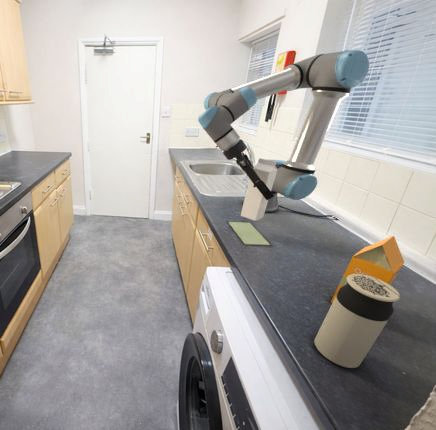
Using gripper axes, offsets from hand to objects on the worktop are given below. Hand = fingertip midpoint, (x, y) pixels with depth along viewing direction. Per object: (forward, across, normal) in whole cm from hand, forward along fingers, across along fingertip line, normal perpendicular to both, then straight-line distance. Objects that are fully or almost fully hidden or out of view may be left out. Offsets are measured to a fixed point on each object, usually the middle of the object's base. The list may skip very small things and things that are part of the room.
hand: (268, 193), depth 97 cm
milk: (+5, 0, -10) cm, 11 cm away
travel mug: (+20, +51, -5) cm, 55 cm away
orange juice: (+27, +32, +2) cm, 42 cm away
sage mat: (+10, 0, -14) cm, 17 cm away
